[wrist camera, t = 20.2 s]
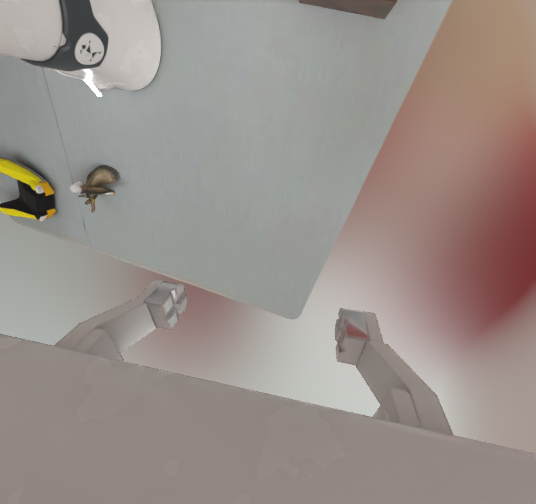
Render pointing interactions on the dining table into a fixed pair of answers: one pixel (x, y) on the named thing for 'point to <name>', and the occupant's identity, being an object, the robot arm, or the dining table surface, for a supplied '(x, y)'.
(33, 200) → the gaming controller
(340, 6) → the walnut stand
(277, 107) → the dining table surface
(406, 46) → the dining table surface
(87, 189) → the eagle figurine
